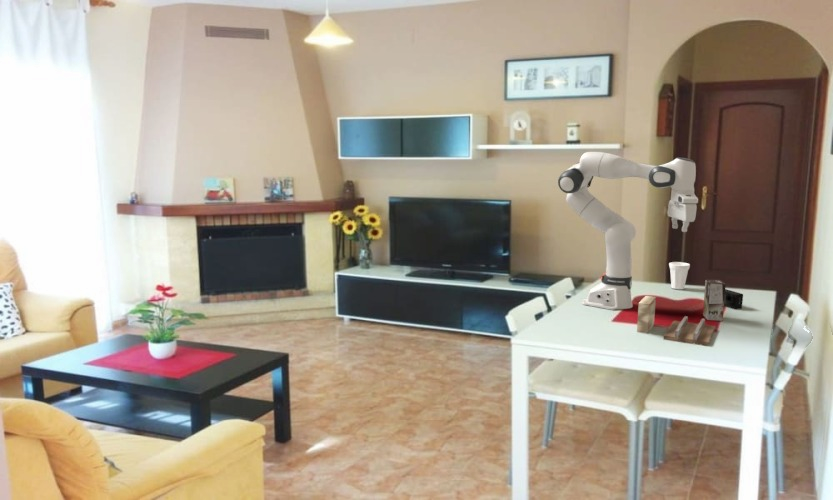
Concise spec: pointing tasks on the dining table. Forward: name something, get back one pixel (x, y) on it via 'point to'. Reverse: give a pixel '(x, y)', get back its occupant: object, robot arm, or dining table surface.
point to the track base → (690, 332)
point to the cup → (678, 274)
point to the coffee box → (714, 299)
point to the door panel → (646, 314)
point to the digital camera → (733, 299)
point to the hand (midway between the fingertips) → (679, 230)
